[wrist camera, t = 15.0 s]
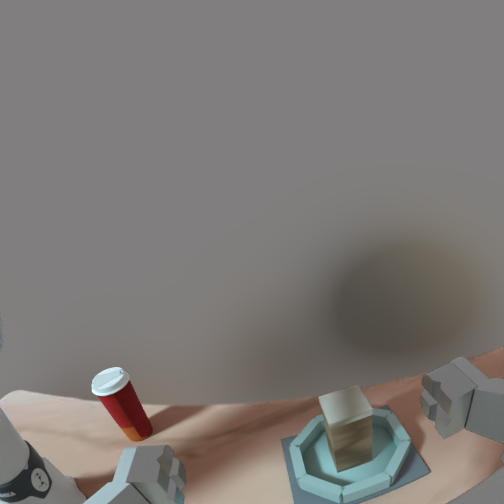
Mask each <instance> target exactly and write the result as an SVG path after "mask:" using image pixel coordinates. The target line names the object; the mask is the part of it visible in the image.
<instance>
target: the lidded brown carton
mask: <svg viewBox="0 0 504 504" xmlns="http://www.w3.org/2000/svg"><path fill="white" fill-rule="evenodd" d="M319 402H320V405H321V409H322V414H323V419H324V425H325V430H326V436H327V442H328V448H329V451H330V454H331V456H332V459H333V462H334V465H335V468H336V470H337V473H339V472H342V471H345V470H348V469H351V468H354V467H357V466H360V465H362V464H365V463H368V462H371V461H372V415H373V408H372V407H371V405H370V403H369V402H368V400H367V398H366V396H365V395H364V393H363V391H362V390H361V388H360V386H359V385H358V384H355V385H353V386H350V387H347V388H344V389H341V390H338V391H335V392H332V393H329V394H325V395H322V396H319Z"/></svg>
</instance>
